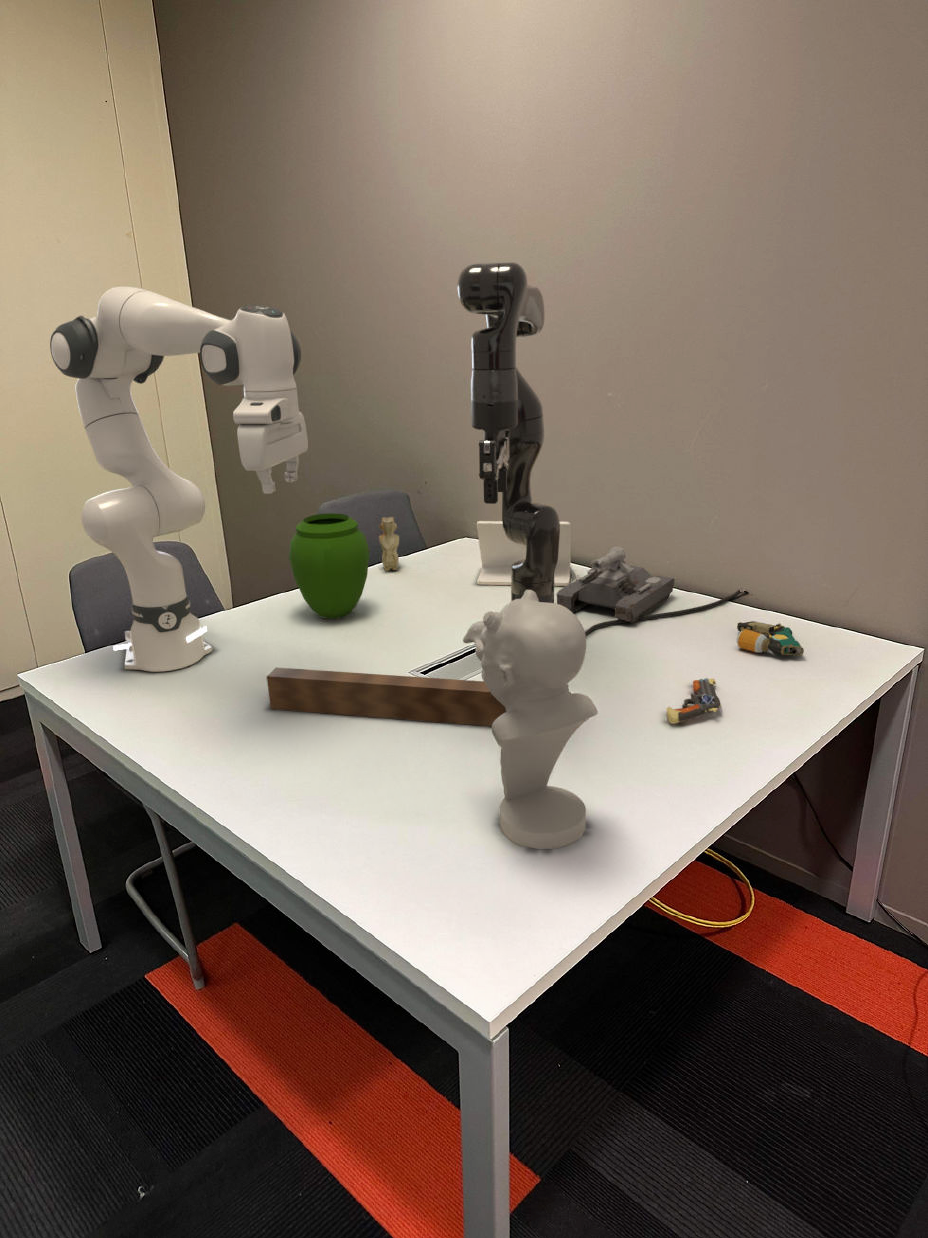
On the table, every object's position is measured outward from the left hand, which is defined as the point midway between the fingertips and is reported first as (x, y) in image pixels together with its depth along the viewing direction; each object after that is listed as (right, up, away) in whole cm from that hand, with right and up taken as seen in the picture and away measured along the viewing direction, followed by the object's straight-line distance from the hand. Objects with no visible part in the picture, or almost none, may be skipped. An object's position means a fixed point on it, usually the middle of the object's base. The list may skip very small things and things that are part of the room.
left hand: (280, 487), depth 150 cm
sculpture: (+11, -9, +98) cm, 99 cm away
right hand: (+38, -3, -8) cm, 39 cm away
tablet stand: (+49, -11, +89) cm, 102 cm away
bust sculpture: (+41, -53, -22) cm, 70 cm away
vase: (0, -22, +63) cm, 67 cm away
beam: (+20, -41, +11) cm, 47 cm away
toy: (+70, -20, +64) cm, 97 cm away
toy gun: (+75, -40, +11) cm, 86 cm away
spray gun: (+99, -29, +37) cm, 110 cm away
